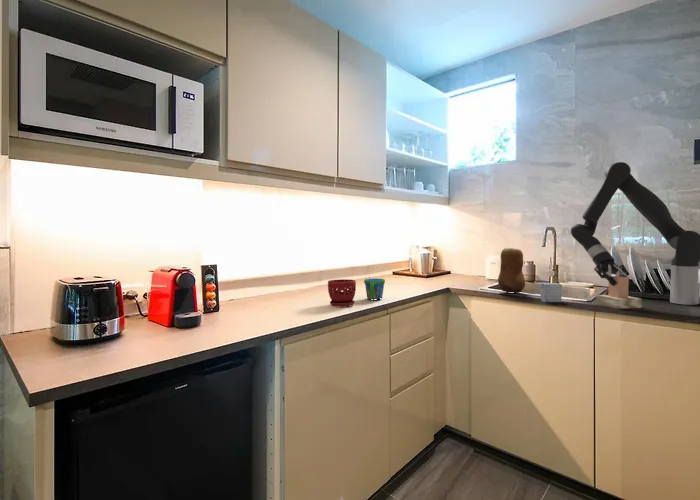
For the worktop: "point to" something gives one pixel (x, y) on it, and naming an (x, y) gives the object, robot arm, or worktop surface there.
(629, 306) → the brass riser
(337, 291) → the plant pot
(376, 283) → the blue green flowerpot
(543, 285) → the medicine box
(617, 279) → the terracotta block
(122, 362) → the worktop surface
